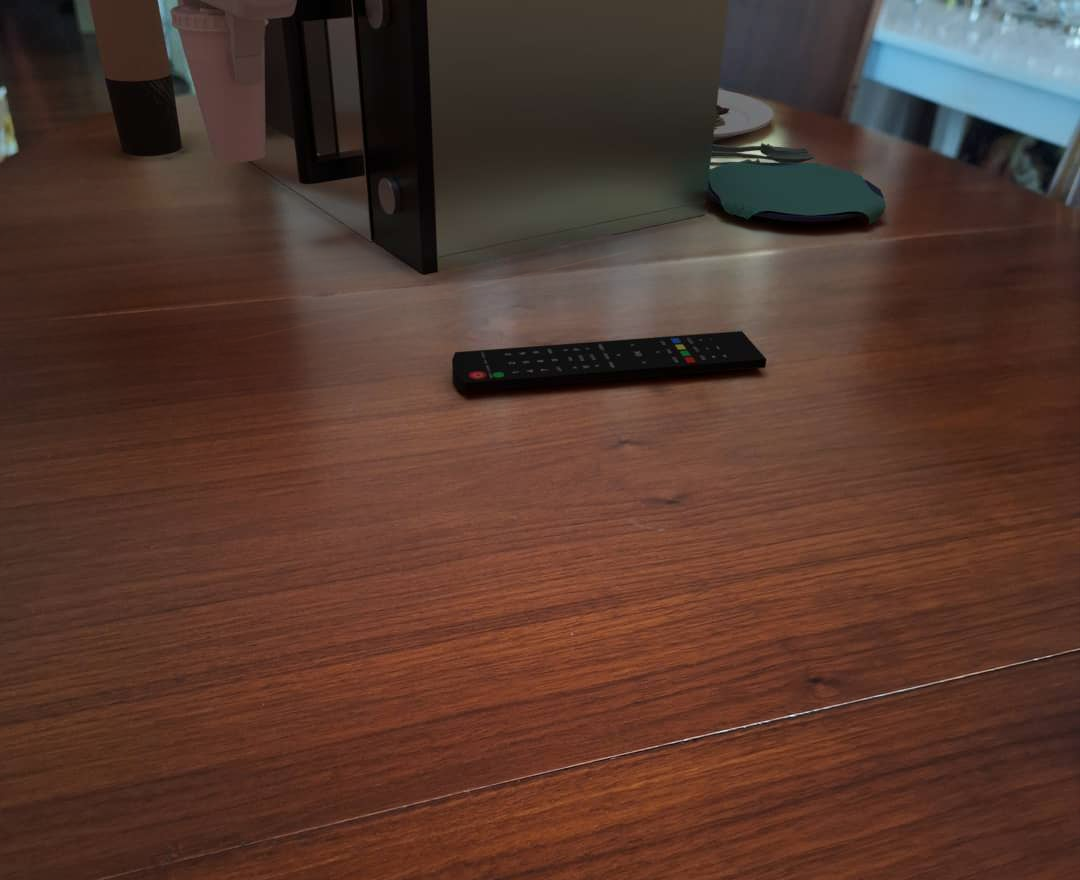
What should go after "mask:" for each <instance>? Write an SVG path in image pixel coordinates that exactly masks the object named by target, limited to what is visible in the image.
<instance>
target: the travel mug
mask: <svg viewBox="0 0 1080 880" xmlns="http://www.w3.org/2000/svg"><path fill="white" fill-rule="evenodd" d="M88 2H89V6H90V13H91V17H92V23H93V27H94V32H95V37H96V41H97V48H98V52H99V57H100V62H101V67H102V72H103V77H104V80H105V85H106V89H107V93H108V97H109V101H110V106H111V109H112V114H113V118H114V122H115V127H116V130H117V134H118V139H119V142H120V146H121V150H122V152H123V153H125V154H126V155H129V156H135V157H155V156H164V155H169V154H173V153H176V152H178V151H180V150H181V149H182V145H183V144H182V137H181V136H182V135H181V129H180V123H179V115H178V109H177V103H176V95H175V87H174V81H173V75H172V69H171V64H170V58H169V53H168V46H167V42H166V41H167V40H166V36H165V32H164V26H163V20H162V16H161V10H160V9H161V8H160V5H159V0H88Z"/></svg>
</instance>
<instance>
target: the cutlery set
mask: <svg viewBox="0 0 1080 880" xmlns="http://www.w3.org/2000/svg"><path fill="white" fill-rule="evenodd" d="M757 151H759V152H760V153H761V154H762V155H761V154H752V153H748V152H757ZM746 152H747V153H746ZM711 158H746V159H744V160H740V161H722V162H720V161H717V162H716V161H711V163H710V166H715V167H712V168H710V172H709V181H708V190H707V198H709V199H710V200H711V201H713V202H715V203H717V204H719V205H721V206H722V208H723V209H724V211H725V212H726V213H727V214H730V215H731V216H734V215H736V216H738V217H739V218H740V217H741V218H744V219H746V220H748V219H750V218H751V217H752V216H755V217H759V218H765V219H766V218H767V219H772V220H778V221H786V222H803V223H804V222H805V223H820V222H836V221H837V222H838V221H842V220H846V219H853V218H858V217H862V216H864V215H866V216H867V218H869V223H868V224H867V226H870V225H871V224H873V223H875V222H876V221H877V220H879V219H880V218H881V217H882V216H883V214H884V213H885V210H886V205H887V204H886V200H885V197H884V195H883V192H882V190H881V189H880V188H879V187H877V186H876V185H875V184H873V183H872V182H870V180H867V179H865V178H864V177H863V176H862V175H861V174H859V173H856V172H854V171H848V170H846V169H840V168H838V167H832V166H830V165H828V166H827V165H824V164H820V162H807V161H810V160H812V159H814V158H816V156H815V155H814V154H811V153H809V150H808V149H807V148H806V147H805V148H792V147H786V146H785V147H784V146H773V145H771V144H770V143H767V144H765V143H763V142H761V144H760V145H748V146H747V145H746V146H745V145H744V146H731V145H720V144H715V143H713V145H712V154H711ZM751 159H756V160H751ZM760 160H772V161H774V162H768V161H767V162H761V161H760Z"/></svg>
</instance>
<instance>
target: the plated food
mask: <svg viewBox="0 0 1080 880" xmlns="http://www.w3.org/2000/svg"><path fill="white" fill-rule="evenodd" d="M774 115H775V112H774V111H773V109H772V107H771V106H769V105H768V104H766V103H765V102H763V101H761V100H759V99H756V98H755V97H751V96H748V95H745V94H742V93H737V92H734V91H729V90H723V89H719V90H718V99H717V109H716V118H715V127H714V136H713V141H719V140H725V139H729V138H732V137H735V136H737V135H742V134H746V133H751V132H754V131H755V132H756V131H757V130H760V129H762V128H764V127H766V126H768V125H769V124H770V123H772V122H773V119H774V117H775V116H774Z"/></svg>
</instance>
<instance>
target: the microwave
mask: <svg viewBox="0 0 1080 880" xmlns="http://www.w3.org/2000/svg"><path fill="white" fill-rule="evenodd" d="M356 1H357V14H358V27H359V40H360V53H361V66H362V79H363V93H364V106H365V119H366V132H367V145H368V158H369V171H370V184H371V198H372V211H373V224H374V237H375V241H374V243H375V244H377V245H378V246H380V247H382V248H383V249H385V250H386V251H388V252H389V253H390V254H392V255H394V256H395V257H397V258H398V259H400V260H401V261H402V262H404V263H406V264H407V265H408V266H411V268H413V269H415V270H416V271H417V272H420V273H421V274H429V273H433V272H437V273H439V272H445V271H449V270H454V269H458V268H463V267H468V266H473V265H477V264H481V263H486V262H491V261H495V260H501V259H504V258H510V257H513V256H514V257H515V256H518V255H522V254H523V255H524V254H527V253H531V252H536V251H541V250H546V249H550V248H556V247H560V246H565V245H569V244H573V243H574V244H575V243H579V242H583V241H588V240H592V239H597V238H601V237H606V236H610V235H611V236H614V235H619V234H622V233H628V232H632V231H637V230H641V229H642V230H643V229H646V228H650V227H656V226H660V225H664V224H665V225H666V224H669V223H673V222H678V221H683V220H687V219H692V218H697V217H700V216H705V215H706V207H707V198H708V196H707V190H708V181H709V172H710V169H711V165H710V163H711V162H712V157H711V154H712V145H713V144H714V140H713V136H714V127H715V118H716V109H717V99H718V90H720V81H721V80H720V79H721V73H722V64H723V63H722V60H723V52H724V44H725V35H726V25H727V18H728V17H727V16H728V8H729V6H728V5H729V0H356Z"/></svg>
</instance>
